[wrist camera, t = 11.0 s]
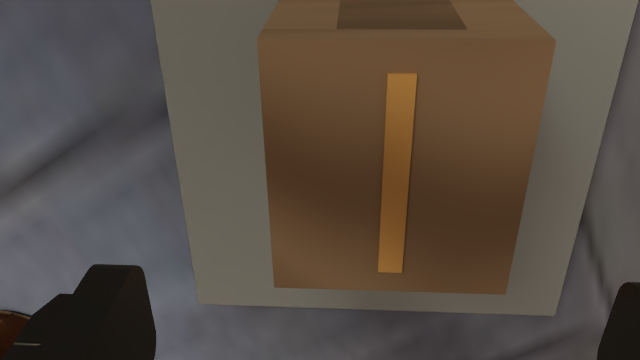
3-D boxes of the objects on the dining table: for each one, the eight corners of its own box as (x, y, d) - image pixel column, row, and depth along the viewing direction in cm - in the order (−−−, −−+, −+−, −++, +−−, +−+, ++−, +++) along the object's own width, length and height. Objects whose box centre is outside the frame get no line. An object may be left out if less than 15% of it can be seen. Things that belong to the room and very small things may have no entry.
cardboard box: (286, -14, 16) (256, 40, 11) (498, -14, 16) (558, 41, 11) (294, 184, 19) (273, 290, 15) (470, 187, 19) (506, 297, 14)
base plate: (207, 279, 24) (198, 303, 23) (131, -250, 15) (108, -260, 14) (543, 290, 23) (555, 316, 22) (679, -264, 14) (711, -276, 13)
